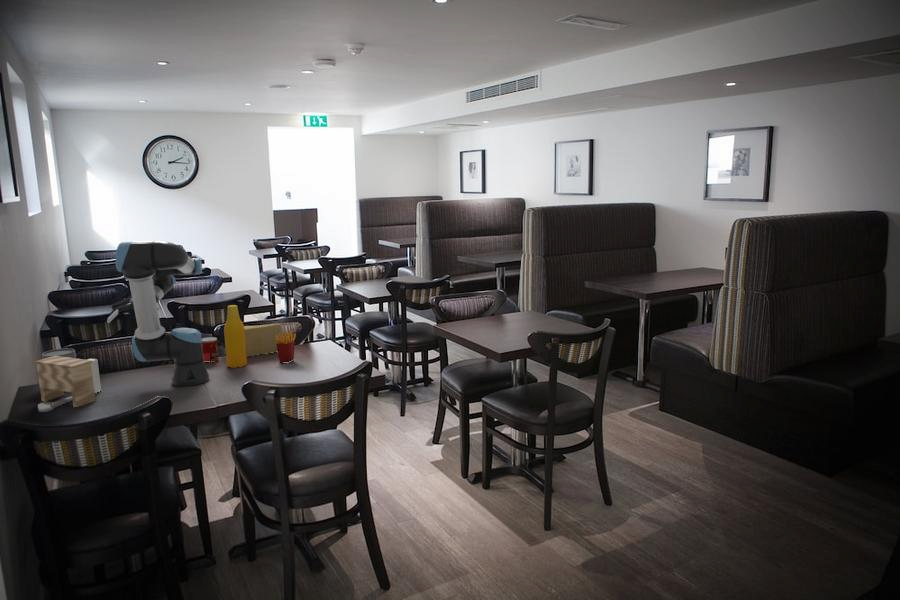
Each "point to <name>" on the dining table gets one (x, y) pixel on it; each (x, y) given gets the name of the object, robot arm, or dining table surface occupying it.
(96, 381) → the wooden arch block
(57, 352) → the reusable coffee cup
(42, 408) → the steel token
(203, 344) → the red drink glass
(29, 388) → the dining table surface
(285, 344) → the french fries
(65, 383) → the wooden bridge
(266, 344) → the cheese
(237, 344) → the beer bottle
